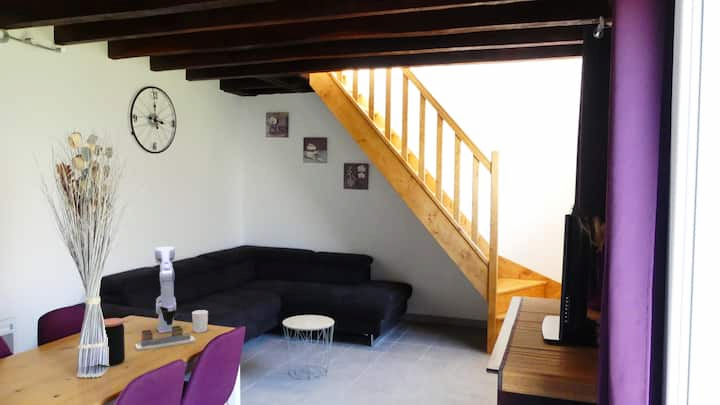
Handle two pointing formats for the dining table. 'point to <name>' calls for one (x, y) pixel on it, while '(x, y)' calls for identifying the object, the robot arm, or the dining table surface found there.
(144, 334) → the rack
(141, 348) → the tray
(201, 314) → the white cup
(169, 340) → the rail
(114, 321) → the coffee jar
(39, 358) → the dining table surface
